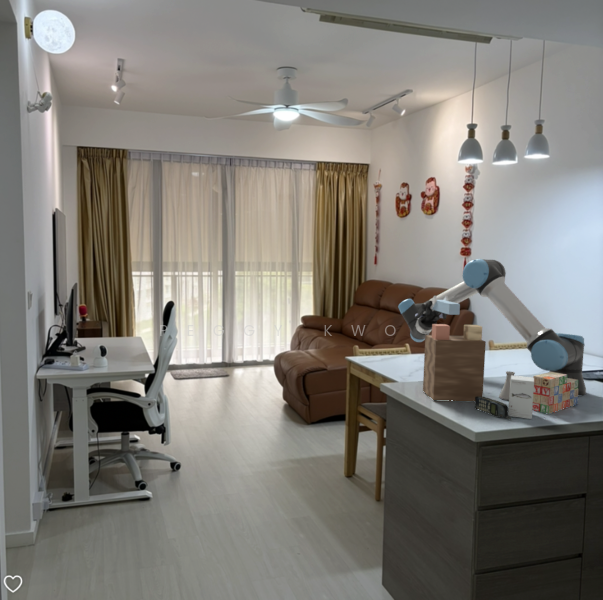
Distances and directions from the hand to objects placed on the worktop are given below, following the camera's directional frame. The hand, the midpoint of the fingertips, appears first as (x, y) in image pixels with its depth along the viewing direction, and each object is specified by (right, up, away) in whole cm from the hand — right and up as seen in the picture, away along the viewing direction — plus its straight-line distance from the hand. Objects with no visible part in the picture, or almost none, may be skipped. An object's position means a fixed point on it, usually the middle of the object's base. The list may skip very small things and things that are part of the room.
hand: (441, 298), depth 225 cm
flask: (+21, -37, -15) cm, 46 cm away
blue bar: (0, -5, -5) cm, 7 cm away
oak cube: (+7, -15, -18) cm, 24 cm away
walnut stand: (0, -36, -15) cm, 39 cm away
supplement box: (+17, -39, -38) cm, 57 cm away
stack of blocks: (+33, -39, -26) cm, 57 cm away
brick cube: (-5, -15, -19) cm, 24 cm away
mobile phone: (+8, -39, -37) cm, 54 cm away
